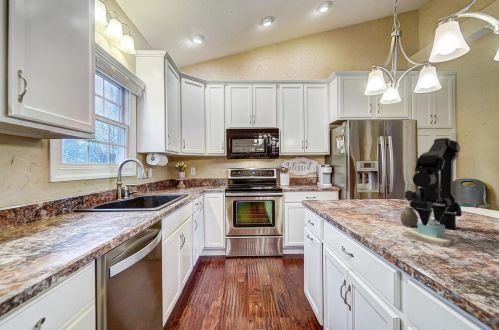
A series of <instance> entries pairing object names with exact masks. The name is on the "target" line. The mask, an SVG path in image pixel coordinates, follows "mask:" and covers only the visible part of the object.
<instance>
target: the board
mask: <svg viewBox="0 0 499 330" xmlns="http://www.w3.org/2000/svg"><path fill="white" fill-rule="evenodd" d="M401 237H405V238H409V239H413V240H416V241H420V242H424V243H427V244H432V245H436V246H438V247H443V248H444V247H447V246H450V245H452V244H456V243H458V242H462V241H464V238H463V237H464V236H463V235H459V234H454V233H450V232H446V231H445V235H444V236H440V237H437V238H436V237H432V236H428V235H423V234H419V233H418V227H417V228H414V229H409V230H405V231H401Z"/></svg>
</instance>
